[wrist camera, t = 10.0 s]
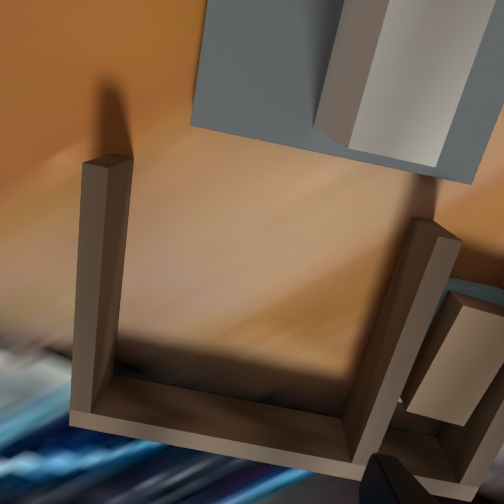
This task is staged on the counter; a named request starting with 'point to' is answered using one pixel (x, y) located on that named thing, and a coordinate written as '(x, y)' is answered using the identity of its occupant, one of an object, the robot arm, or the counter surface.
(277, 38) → the mat
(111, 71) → the counter surface
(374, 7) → the board
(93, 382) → the rack
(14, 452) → the counter surface
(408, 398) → the offcut upper
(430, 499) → the robot arm
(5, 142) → the counter surface
